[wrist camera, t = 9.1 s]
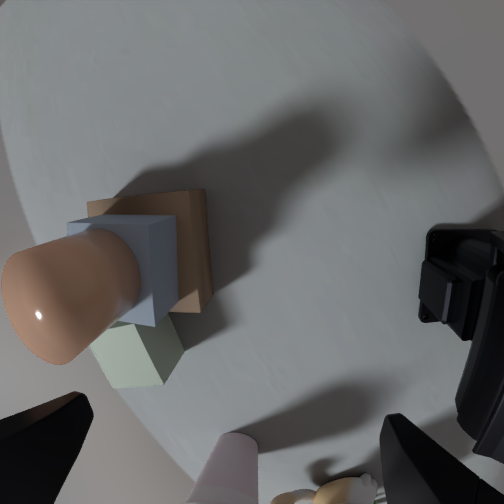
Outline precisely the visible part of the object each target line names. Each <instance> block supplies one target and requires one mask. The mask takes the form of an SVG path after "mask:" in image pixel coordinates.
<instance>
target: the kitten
mask: <svg viewBox="0 0 504 504" xmlns="http://www.w3.org/2000/svg"><path fill="white" fill-rule="evenodd" d="M376 495H377V482H376V480H375V479H371V476H370V474H368V473H365V474H363V475H361V476H360V478H357V477H347V478H341V479H338V480H334V481H332V482H329V483H327V484H325V485H323V486H321V487H320V488H319V489H318V490H317V491H314V490H310V489H299V490H295V491H291V492H287V493H283V494H280V495H278V496H276V497H275V498H274V499H273V500H272V501H271V503H270V504H294V503H295V502H311V501H313V504H375V502H374V500H375V496H376Z"/></svg>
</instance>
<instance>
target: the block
mask: <svg viewBox="0 0 504 504" xmlns="http://www.w3.org/2000/svg"><path fill="white" fill-rule="evenodd" d="M90 347H91V349H92V351H93V353H94V355H95V357H96V359H97V361H98V362H99V364H100V366H101V368H102V370H103V372H104V373H105V375H106V377H107V379H108V381H109V382H110V384H111V386H112V387H113V389H114V388H130V387H144V386H155V385H164V384H165V382H166V381H167V379H168V377H169V376H170V374H171V373H172V371H173V369H174V368H175V366H176V365H177V363H178V361H179V360H180V358H181V357H182V355H183V353H184V352H185V350H184V348H183V346H182V343H181V341H180V339H179V337H178V335H177V332H176V330H175V328H174V325H173V323H172V321H171V318H170V316H169V314H168V313H167V315H166V316H165V317H164V318H163V319H162V320H161V321H160V322H159V323H158V324H157V325H156V327H153V326H146V325H140V324H134V323H128V322H122V321H117V322H115V323H114V324H113V325H112V326H111V327H110V328H108V329H107V330H106V331H105V332H104V333H103V334H101V335H100V336H99V337H98V338H97V339H96V340H94V341H93V342H92V343H91V344H90Z"/></svg>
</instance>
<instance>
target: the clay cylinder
mask: <svg viewBox="0 0 504 504" xmlns="http://www.w3.org/2000/svg"><path fill="white" fill-rule="evenodd" d="M1 289H2V297H3V302H4V307H5V309H6V313H7V316H8V318H9V320H10V322H11V325H12V327H13V328H14V330H15V332H16V333H17V335H18V337H19V338H20V339H21V341H22V342H23V343H24V344H25V345H26V347H27V348H28V349H29V350H30V351H31V352H33V353H34V354H35V355H36V356H37V357H39V358H41V359H42V360H44V361H46V362H48V363H51V364H55V365H63V364H66V363H68V362H70V361H71V360H73V359H74V358H75V357H76V356H77V355H78V354H80V353H81V352H82V351H83V350H84V349H85V348H86V347H88V346H89V345H90V344H91V343H92V342H93V341H94V340H96V339H97V338H98V337H99V336H100V335H101V334H103V333H104V332H105V331H106V330H107V329H108V328H110V327H111V326H112V325H113V324H114V323H115V322H117V321H118V320H119V319H120V318H121V317H123V316H124V315H125V314H126V313H127V312H128V311H130V310H131V309H132V308H133V307H134V305H135V304H136V302H137V300H138V298H139V295H140V290H141V274H140V269H139V266H138V262H137V260H136V258H135V255H134V254H133V252H132V250H131V249H130V247H129V246H128V245H127V244H126V242H125V241H124V240H123V239H122V238H120V237H119V236H118V235H116V234H115V233H113V232H111V231H109V230H106V229H101V228H94V229H89V230H86V231H82V232H79V233H76V234H73V235H69V236H66V237H63V238H60V239H57V240H53V241H50V242H47V243H44V244H41V245H38V246H35V247H32V248H29V249H26V250H23V251H20V252H17V253H15V254H13V255H12V256H11V257H10V258H9V259H8V260H7V262H6V264H5V266H4V269H3V273H2V281H1Z"/></svg>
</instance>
